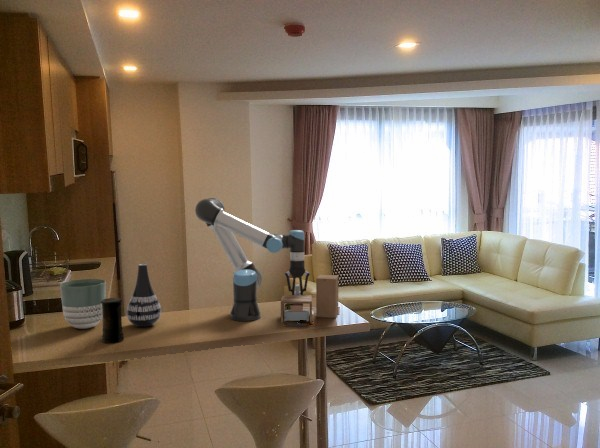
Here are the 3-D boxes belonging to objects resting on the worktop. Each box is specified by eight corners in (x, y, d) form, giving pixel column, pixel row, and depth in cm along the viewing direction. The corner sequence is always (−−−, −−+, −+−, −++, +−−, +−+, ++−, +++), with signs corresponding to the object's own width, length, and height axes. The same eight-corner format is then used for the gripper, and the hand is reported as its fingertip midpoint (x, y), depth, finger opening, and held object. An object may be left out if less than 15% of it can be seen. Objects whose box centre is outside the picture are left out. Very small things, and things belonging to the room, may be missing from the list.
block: (302, 320, 255) (302, 305, 254) (290, 320, 255) (290, 305, 254) (302, 317, 261) (302, 302, 260) (291, 317, 261) (290, 302, 260)
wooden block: (335, 318, 258) (335, 278, 256) (316, 317, 260) (316, 278, 258) (338, 313, 268) (338, 275, 266) (319, 312, 270) (319, 274, 268)
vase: (168, 323, 251) (166, 263, 248) (146, 332, 236) (144, 268, 234) (143, 319, 257) (141, 261, 255) (119, 328, 243) (117, 266, 241)
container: (105, 337, 228) (103, 297, 227) (125, 337, 229) (124, 297, 227) (98, 344, 219) (97, 302, 218) (120, 343, 220) (119, 301, 218)
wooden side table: (311, 322, 250) (311, 301, 249) (280, 322, 250) (280, 301, 250) (311, 315, 264) (311, 295, 263) (282, 315, 264) (282, 295, 264)
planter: (116, 323, 251) (114, 280, 249) (87, 335, 232) (85, 288, 230) (83, 320, 257) (81, 277, 255) (52, 331, 238) (50, 285, 237)
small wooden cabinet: (308, 321, 252) (308, 293, 250) (284, 321, 252) (283, 293, 251) (308, 309, 275) (308, 284, 273) (286, 309, 275) (286, 284, 274)
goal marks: (313, 314, 265) (313, 314, 265) (280, 314, 265) (280, 314, 265) (313, 310, 273) (313, 310, 273) (281, 310, 273) (281, 310, 273)
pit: (306, 326, 244) (306, 326, 244) (285, 326, 244) (285, 326, 244) (306, 323, 249) (306, 323, 249) (286, 323, 249) (286, 323, 249)
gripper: (282, 260, 266) (282, 305, 268) (311, 260, 266) (311, 305, 268) (283, 258, 274) (283, 302, 276) (311, 258, 273) (311, 302, 275)
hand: (297, 304), depth 272 cm, fingers closed on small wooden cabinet, 2 cm apart
